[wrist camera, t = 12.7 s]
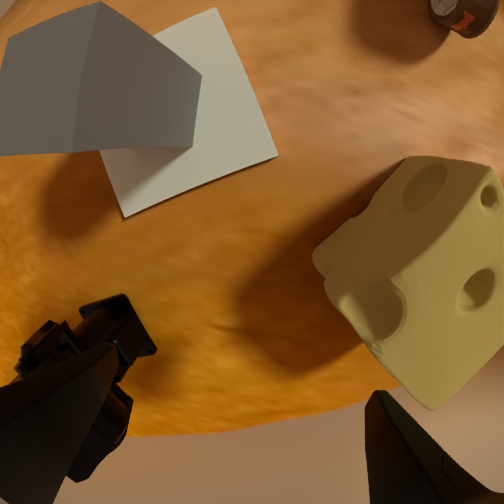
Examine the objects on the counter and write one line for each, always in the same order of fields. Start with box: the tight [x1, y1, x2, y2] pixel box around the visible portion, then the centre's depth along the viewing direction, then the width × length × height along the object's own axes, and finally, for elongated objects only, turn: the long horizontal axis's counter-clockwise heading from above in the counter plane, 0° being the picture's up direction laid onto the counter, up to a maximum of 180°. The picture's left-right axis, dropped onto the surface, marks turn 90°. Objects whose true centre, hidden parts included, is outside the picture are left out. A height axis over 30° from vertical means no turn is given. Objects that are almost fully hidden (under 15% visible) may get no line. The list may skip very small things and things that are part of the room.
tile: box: [99, 7, 279, 218], centre depth 18 cm, size 12×12×1 cm
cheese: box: [312, 156, 504, 411], centre depth 15 cm, size 10×11×10 cm
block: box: [0, 1, 202, 156], centre depth 12 cm, size 5×5×12 cm
